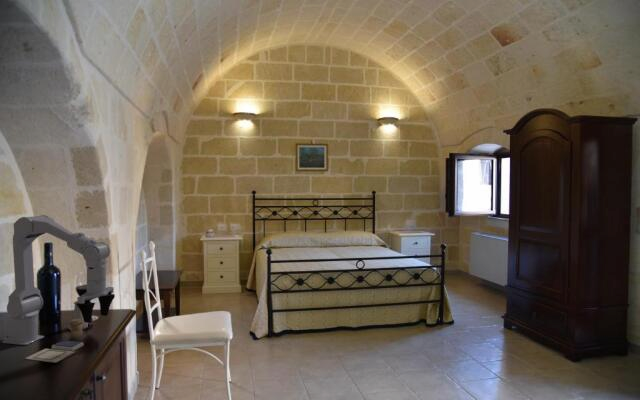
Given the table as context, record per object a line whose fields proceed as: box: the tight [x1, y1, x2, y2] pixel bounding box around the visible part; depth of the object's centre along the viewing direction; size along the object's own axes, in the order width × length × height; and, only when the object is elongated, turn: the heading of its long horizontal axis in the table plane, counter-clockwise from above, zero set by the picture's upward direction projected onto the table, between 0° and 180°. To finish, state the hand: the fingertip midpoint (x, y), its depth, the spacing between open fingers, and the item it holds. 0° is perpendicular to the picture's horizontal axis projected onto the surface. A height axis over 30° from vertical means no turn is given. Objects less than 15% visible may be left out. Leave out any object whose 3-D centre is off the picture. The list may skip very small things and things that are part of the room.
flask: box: [67, 301, 89, 331], centre depth 166 cm, size 7×7×10 cm
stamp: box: [68, 319, 85, 342], centre depth 154 cm, size 4×4×7 cm
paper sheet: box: [24, 348, 75, 363], centre depth 140 cm, size 11×8×1 cm
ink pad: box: [51, 339, 84, 352], centre depth 147 cm, size 8×5×1 cm, turn 80°
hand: (96, 318), depth 147 cm, fingers open, 7 cm apart
